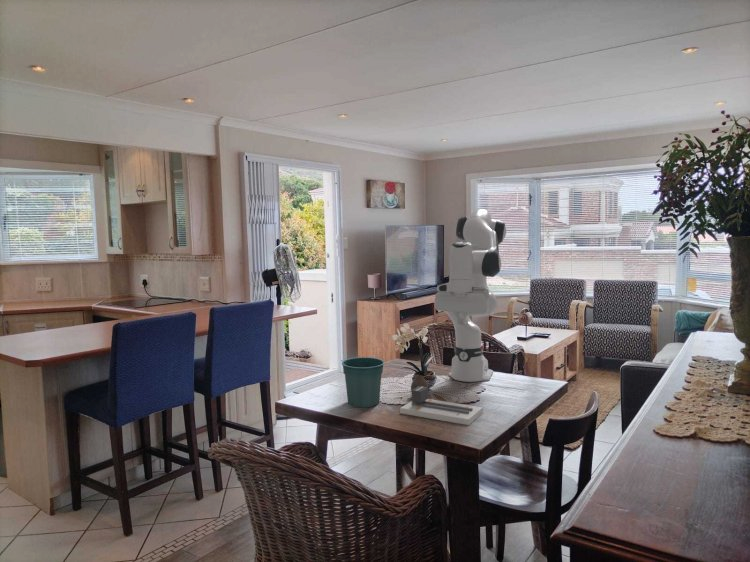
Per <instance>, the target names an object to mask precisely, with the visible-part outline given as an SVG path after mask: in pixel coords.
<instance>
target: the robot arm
mask: <svg viewBox="0 0 750 562" xmlns="http://www.w3.org/2000/svg"><path fill="white" fill-rule="evenodd" d="M454 228H455V230H454V231H455V236H456V237H457V239H459V240H463V241H455V242H453V243H452V244H451V245H450V248H449V255H448V256H449V257H448V269H449V277H448V279H449V280H448V282H444V283H441V284H438V285H437V286H436V291H437V292H436V293H435V296H434V309H435V310H436V311H437V312H444V313H445V314H446V315H447V316H448V317H449V319H450V320H451V323H452V324H453V327H454V332H455V333H454V335H455V346H454V356H453V357H452V358H451V370H450V372H448V377H451V378H452V380H453V379H454V380H456V381H459V382H467V383H468V382H469V383H475V382H482V381H484V382H486V381H487V382H488V381H490V379H491V377H493V374H494V370H492V369H490V368H489V362H488V361H489V360H488V359H487V358H486V357H485V356H484V351H483V350H484V348H485V345H483V344H482V329H481V328H480V326H478V325H477V324H476V323H474V322H473V321H472V319H471V318H470V317H488V316H492V315H494V313H496V310H497V308H498V299H497V298H496V295H495V294H494V293H493V292H492V291H491V290H490V289H489V286H488V283H487V278H489V277H490V278H494V277H495V276H497V275H498V274H499V273H500V272H501V268H502V258H501V255H500V254H499V253H500V249H499V247H500V246H499V245H500V244H502V243H503V242H504V239H505V238H506V236H507V227H506V223H505V222H504V221H502V220H499V219H493V218H492V216H491V214H490V212H489V211H488V210H486V209H484V208H477V209H474V210H473V211H471V213H470V214H469V215H468V216H467V215H465V216H461V217H460V218H458V220H457V222H456V224H455V227H454Z"/></svg>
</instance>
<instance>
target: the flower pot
mask: <svg viewBox="0 0 750 562" xmlns="http://www.w3.org/2000/svg"><path fill="white" fill-rule="evenodd" d="M341 365H342V369H343V373H344V377H345V378H344V379H345V387H346V390H345V391H346V398H347V403H348V405H349V406H352V407H353V406H354V407H355V408H361V409H362V408H363V409H367V408H373V407H374V406H377V405H379V403H380V395H381V386H382V383H381V382H382V374H383V370H384V365H385V360H384V359H381V358H378V357H370V356H369V357H367V356H360V357H351V358H347V359H343V360H342V361H341Z"/></svg>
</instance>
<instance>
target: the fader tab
mask: <svg viewBox="0 0 750 562" xmlns="http://www.w3.org/2000/svg"><path fill="white" fill-rule="evenodd" d="M427 399H429V386H428V387H423V386H418V387H416V388H415V389H413V390H412V393H411V401H412V402H415V403H423V402H424V401H425V400H427Z"/></svg>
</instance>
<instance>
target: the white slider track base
mask: <svg viewBox="0 0 750 562" xmlns="http://www.w3.org/2000/svg"><path fill="white" fill-rule="evenodd" d="M399 411H400V414H402V415H409V416H415V417H420V418H425V419H431V420H437V421H443V422H449V423H452V424H453V423H454V424H458V425H459V424H461V425H466V426H470V425H471V424H472V423H474V421H476V419H478V418H479V417H480V416H481V415H483V414H484V407H483V406H476V405H470V404H463V403H458V402H452V401H451V402H450V401H445V400H437V399H432V398H431V399H430V398H428V399H427V400H425V401H424V402H423V403H415V402H412V400H411V401H409V402H408V403H406V404H403V406H402V407H400V409H399Z"/></svg>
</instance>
